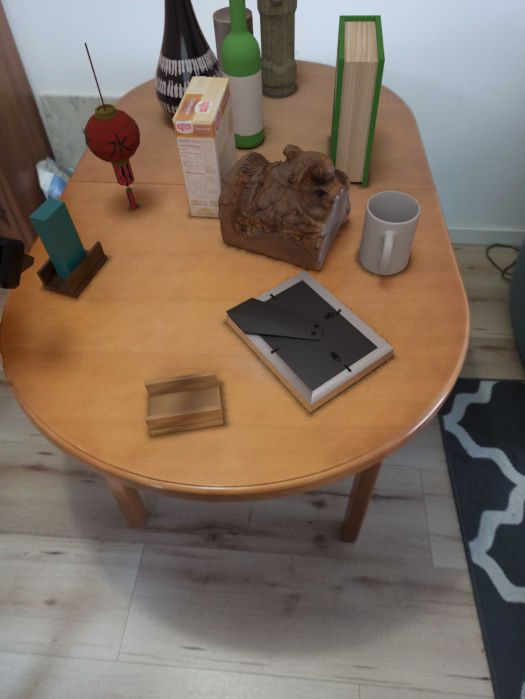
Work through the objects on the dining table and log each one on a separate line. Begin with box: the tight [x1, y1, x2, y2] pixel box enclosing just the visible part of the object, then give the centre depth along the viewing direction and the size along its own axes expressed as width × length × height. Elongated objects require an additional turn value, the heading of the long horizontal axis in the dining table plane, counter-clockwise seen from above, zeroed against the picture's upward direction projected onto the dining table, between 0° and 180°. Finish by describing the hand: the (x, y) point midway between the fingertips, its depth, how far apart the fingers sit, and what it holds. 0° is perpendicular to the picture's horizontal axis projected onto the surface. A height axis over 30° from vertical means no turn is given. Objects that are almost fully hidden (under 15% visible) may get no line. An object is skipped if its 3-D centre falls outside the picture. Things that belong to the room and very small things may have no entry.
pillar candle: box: [211, 6, 254, 71], centre depth 126 cm, size 10×10×15 cm
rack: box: [36, 240, 108, 298], centre depth 88 cm, size 10×7×4 cm, turn 159°
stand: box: [144, 370, 225, 436], centre depth 70 cm, size 10×7×4 cm, turn 99°
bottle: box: [221, 0, 265, 149], centre depth 101 cm, size 8×8×30 cm
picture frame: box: [225, 270, 395, 414], centre depth 77 cm, size 16×3×21 cm
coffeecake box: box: [171, 76, 238, 219], centre depth 94 cm, size 15×7×20 cm, turn 171°
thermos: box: [256, 0, 298, 99], centre depth 112 cm, size 9×12×35 cm
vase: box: [154, 0, 223, 119], centre depth 108 cm, size 16×16×30 cm
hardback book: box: [329, 14, 386, 188], centre depth 97 cm, size 18×7×24 cm, turn 174°
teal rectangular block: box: [28, 197, 86, 279], centre depth 83 cm, size 5×3×13 cm, turn 158°
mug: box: [358, 190, 421, 276], centre depth 83 cm, size 12×8×11 cm
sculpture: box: [218, 143, 352, 271], centre depth 89 cm, size 19×18×20 cm
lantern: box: [84, 42, 141, 211], centre depth 88 cm, size 10×10×30 cm
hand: (6, 253), depth 73 cm, fingers open, 9 cm apart
